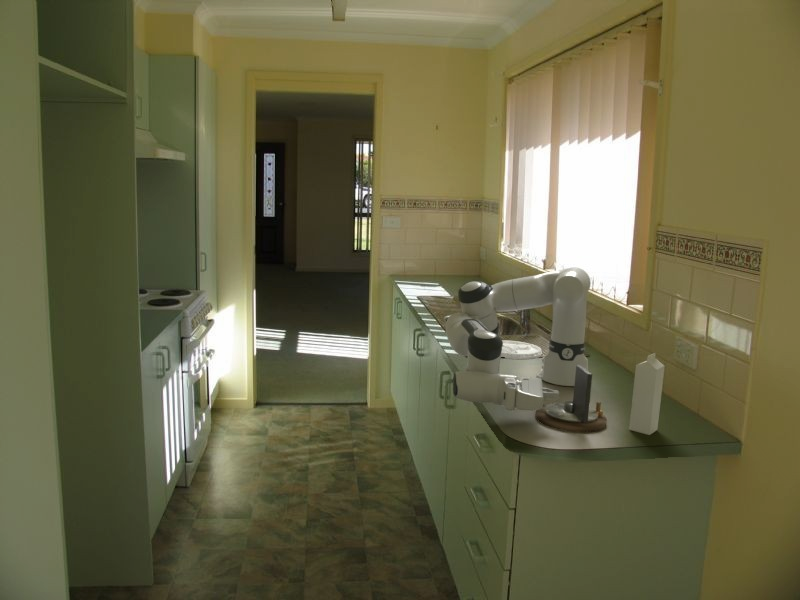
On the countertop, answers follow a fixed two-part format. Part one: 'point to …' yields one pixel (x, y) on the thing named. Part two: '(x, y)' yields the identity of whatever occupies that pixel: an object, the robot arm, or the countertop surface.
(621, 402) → the countertop surface
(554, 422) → the post base
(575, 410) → the grey finned round piece
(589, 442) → the countertop surface
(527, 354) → the medallion
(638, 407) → the milk
